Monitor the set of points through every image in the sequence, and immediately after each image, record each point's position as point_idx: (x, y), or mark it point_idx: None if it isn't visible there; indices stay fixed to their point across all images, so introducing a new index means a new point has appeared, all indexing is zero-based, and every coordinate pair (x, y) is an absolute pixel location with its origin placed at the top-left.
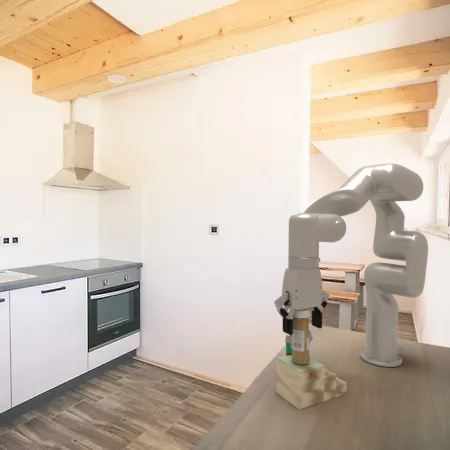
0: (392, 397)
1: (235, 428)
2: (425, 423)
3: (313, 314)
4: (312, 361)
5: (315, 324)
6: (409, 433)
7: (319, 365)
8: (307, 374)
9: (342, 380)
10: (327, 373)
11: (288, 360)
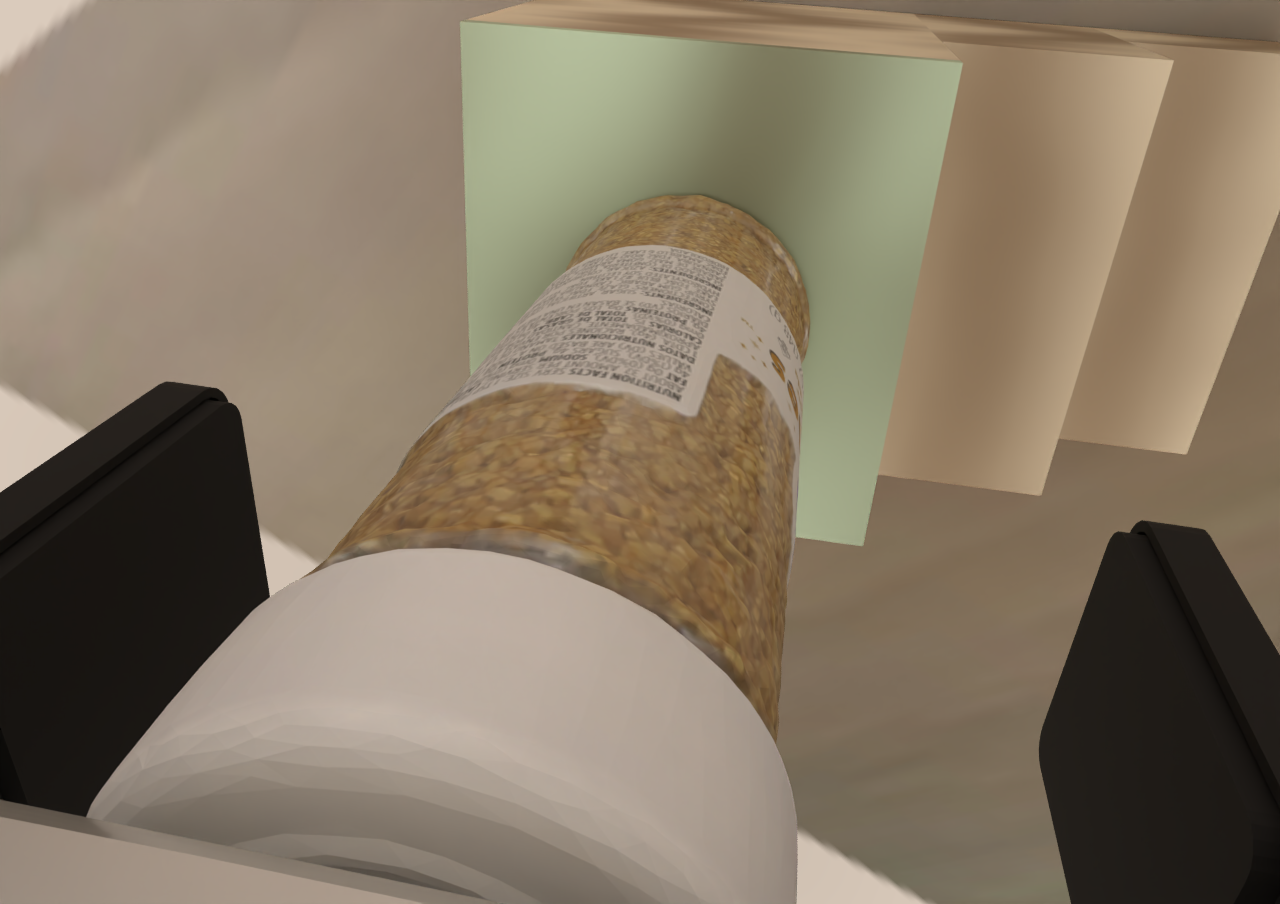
0: None
1: (17, 243)
2: None
3: (1190, 827)
4: (836, 392)
5: (1085, 678)
6: (972, 838)
7: (809, 509)
8: None
9: (1202, 405)
10: (981, 431)
11: (564, 188)
